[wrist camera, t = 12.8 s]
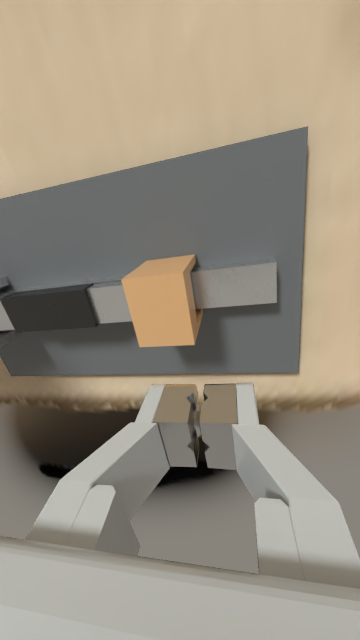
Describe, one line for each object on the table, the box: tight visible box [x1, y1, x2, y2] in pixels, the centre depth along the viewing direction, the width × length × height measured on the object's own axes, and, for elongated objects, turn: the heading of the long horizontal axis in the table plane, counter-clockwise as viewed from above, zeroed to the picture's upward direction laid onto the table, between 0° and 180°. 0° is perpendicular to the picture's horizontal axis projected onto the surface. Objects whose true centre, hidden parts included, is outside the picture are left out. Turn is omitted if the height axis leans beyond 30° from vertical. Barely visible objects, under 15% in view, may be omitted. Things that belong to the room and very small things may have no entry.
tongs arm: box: [0, 275, 196, 332], centre depth 21 cm, size 21×3×2 cm, turn 100°
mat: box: [0, 127, 308, 376], centre depth 23 cm, size 32×18×1 cm, turn 100°
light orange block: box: [121, 254, 203, 347], centre depth 18 cm, size 4×5×5 cm
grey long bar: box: [0, 257, 277, 348], centre depth 21 cm, size 30×6×4 cm, turn 100°
